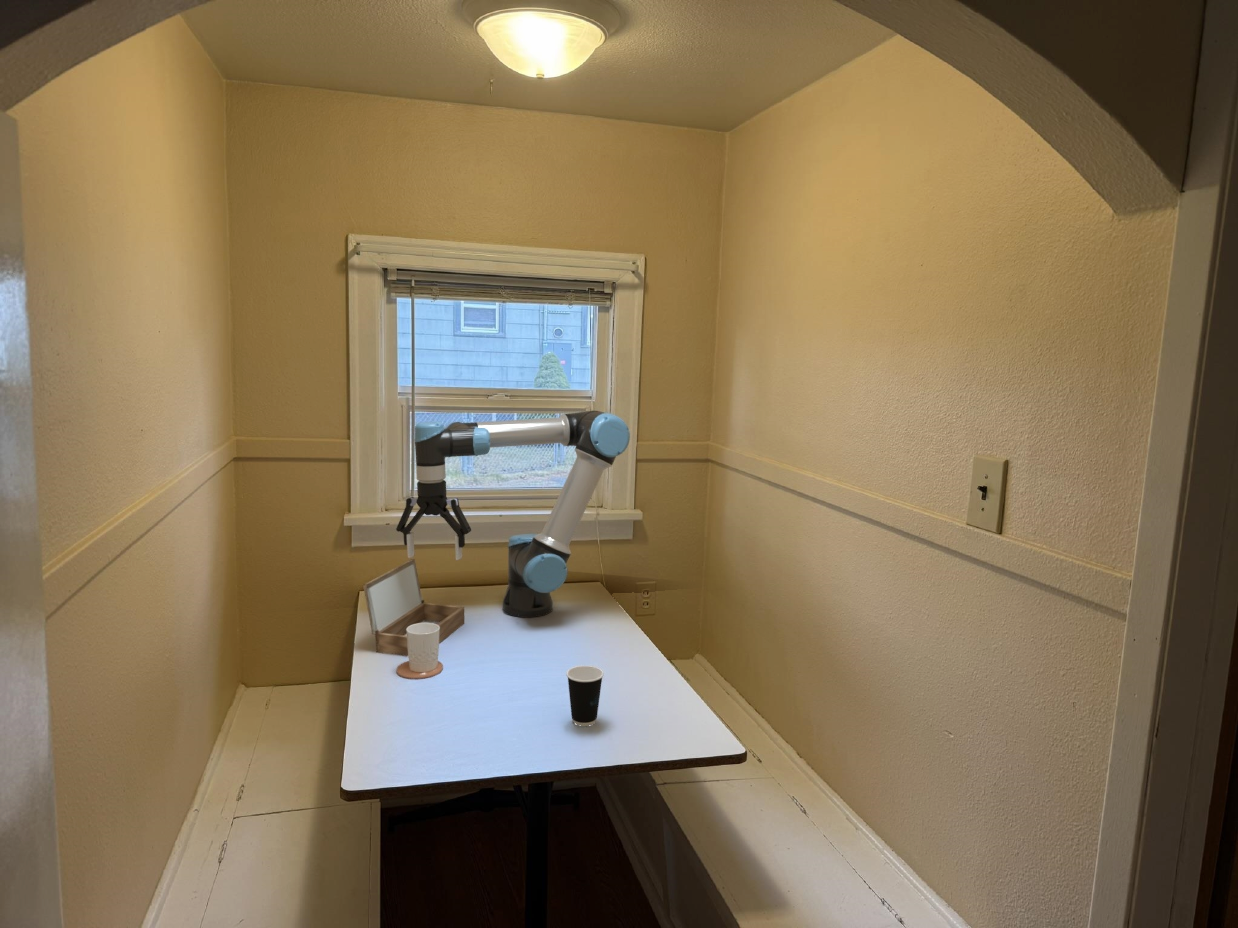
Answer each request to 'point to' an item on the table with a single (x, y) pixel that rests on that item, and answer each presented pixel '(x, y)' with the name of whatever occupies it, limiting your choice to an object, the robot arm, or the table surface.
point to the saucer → (405, 672)
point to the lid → (392, 595)
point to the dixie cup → (584, 693)
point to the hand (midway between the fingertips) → (434, 557)
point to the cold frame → (394, 633)
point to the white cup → (423, 646)
